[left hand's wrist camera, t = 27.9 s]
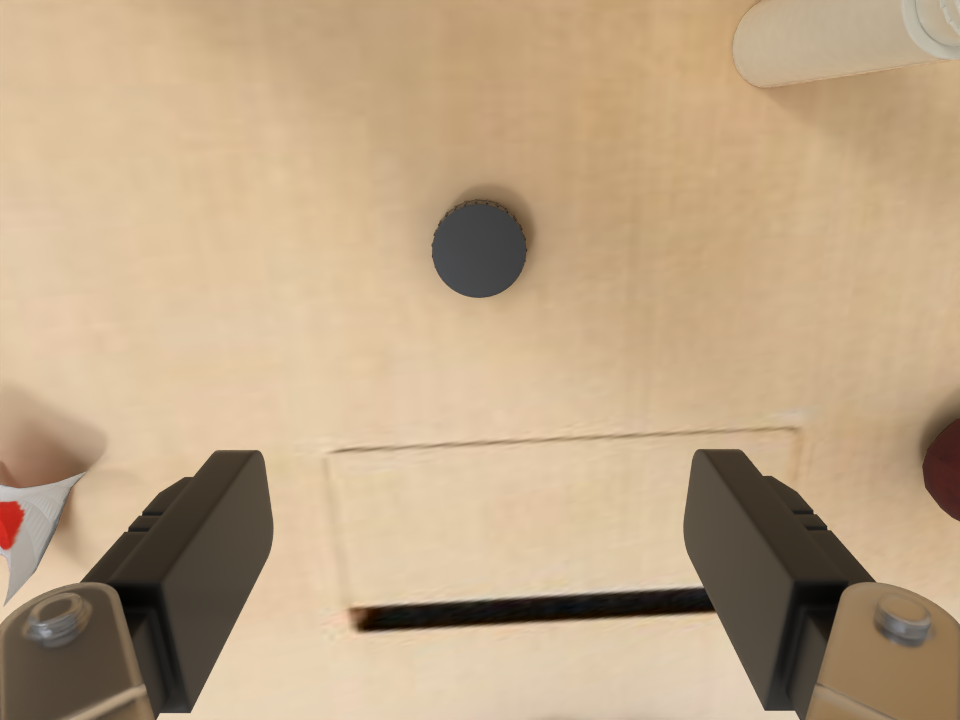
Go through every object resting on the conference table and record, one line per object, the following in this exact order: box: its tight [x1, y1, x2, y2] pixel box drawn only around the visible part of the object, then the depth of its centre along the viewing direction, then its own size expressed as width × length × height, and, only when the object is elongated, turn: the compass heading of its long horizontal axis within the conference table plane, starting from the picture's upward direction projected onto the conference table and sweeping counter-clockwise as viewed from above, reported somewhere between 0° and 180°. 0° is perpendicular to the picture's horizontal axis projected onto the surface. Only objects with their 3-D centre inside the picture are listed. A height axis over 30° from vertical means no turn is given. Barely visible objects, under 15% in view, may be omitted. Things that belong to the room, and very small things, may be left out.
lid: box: [432, 199, 527, 298], centre depth 35 cm, size 5×6×2 cm
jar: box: [732, 0, 960, 88], centre depth 25 cm, size 4×4×16 cm
